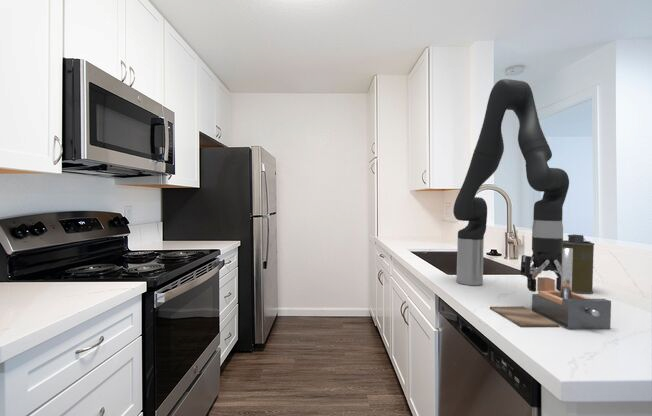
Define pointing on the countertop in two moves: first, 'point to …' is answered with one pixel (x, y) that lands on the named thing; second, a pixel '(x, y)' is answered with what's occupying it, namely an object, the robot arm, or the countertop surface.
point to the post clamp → (573, 304)
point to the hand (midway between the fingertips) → (546, 291)
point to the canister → (581, 263)
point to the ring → (552, 290)
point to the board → (524, 317)
